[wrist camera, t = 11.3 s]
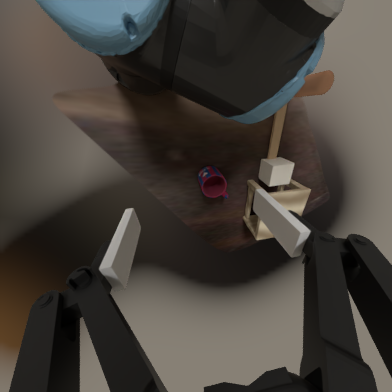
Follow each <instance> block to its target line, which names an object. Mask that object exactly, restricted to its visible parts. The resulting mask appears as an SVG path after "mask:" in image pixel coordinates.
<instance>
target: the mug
mask: <svg viewBox="0 0 392 392" xmlns="http://www.w3.org/2000/svg"><path fill="white" fill-rule="evenodd" d="M198 181H199V184H200V187H201V189H202V192H203V194H204V195H205V196H207V197H210V198H216V197H219V196H220V195H222V196H223V197H224V198H226V199H227V198H228V197H229V195H228V194H227V192H226V191H225V190H226V188H227V182H226V179H225V178H224V177H223V175H222V174H221V173H220V172H219V170H218V169H217V168H216V167H214V166H206V167H204V168H202V169H201V170H200V171H199V173H198Z"/></svg>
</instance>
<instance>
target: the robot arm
mask: <svg viewBox="0 0 392 392" xmlns="http://www.w3.org/2000/svg"><path fill="white" fill-rule="evenodd" d="M36 2H37V3H38V4H39V5H40V7H41V8H42V9H43V10H44V11H45V12H46V13H47V14H48V16H49V17H50V18H51V19H52V20H53V21H55V23H57V24H58V25H59V26H60V27H61V28H62V30H63V31H64V32H66V33H67V35H68V36H69V37H70V38H71V39H72V40H73V41H75V42H77V43H78V44H79V45H80V46H81V47H83V48H85V49H87V50H88V51H90V52H93V53H95V54H96V55H98V56H99V57H100V58H101V60H102V61H103V63H104V65H105V66H106V68H107V69H108V71H109V72H110V73H111V75H112V76H113V77H114V78H115V79H116V80H117V81H118V82H119V83H120V84H122V85H123V86H124V87H126V88H128V89H129V90H131V91H134V92H136V93H139V94H143V95H154V94H158V93H160V92H162V91H164V90H165V89H169V90H171V91H172V92H174V93H176V94H178V95H180V96H183V97H185V98H187V99H189V100H191V101H193V102H195V103H198V104H200V105H202V106H204V107H206V108H208V109H210V110H213V111H215V112H217V113H219V115H221V116H222V117H224V118H228V119H233V120H235V121H238V122H240V123H244V124H252V123H257V122H260V121H262V120H264V119H266V118H268V117H270V116H271V115H273V114H274V113H276V112H277V111H278V110H280V109H281V108H282V107H283V106H284V105H285V104H287V103H288V102H289V101H290V100H291V99H292V98H293V97H294V96H295V94H296V93H297V92H298V91H299V90H300V89H301V87H302V86H303V85H304V84H305V80H304V78H305V77H306V76H307V75H308V74H310V73H312V72H313V70H314V69H315V67H316V65H317V63H318V61H319V59H320V57H321V54H322V51H323V47H324V30H325V29H326V28H327V27H328V26H329V25H330V24H331V22H332V21H333V20H334V19H335V18H336V17H337V16H338V15H339V13H340V12H341V11H342V8H343V4H344V0H36ZM253 211H254V212H255V213H256V214H257V216H258V217H259V218H260V219H261V221H262V222H263V223H264V224H265V225H266V227H267V228H268V229H269V230H270V232H271V233H272V234H273V235H274V237H275V238H276V239H277V240H278V242H279V243H280V244H281V245H282V246H283V248H284V249H285V250H286V251H287V253H288V254H289V255H290V256H291V257H296V256H300V255H301V253H302V251H303V252H304V253H305V254H306V255H305V257H304V259H303V262H302V263H303V264H304V262H305V265H304V267H305V268H304V326H303V356H302V361H301V365H300V376H298V375H296V374H294V373H291V372H288V371H287V369H286V367H282V368H278V369H274V370H271V371H266V372H265V373H264V374H262V375H261V376H260V377H259V378H258V379H256V380H255V381H254V382H253V383H251V384H250V385H249V386H245V385H239V384H232V383H226V382H223V383H219V384H215V385H211V386H207V387H204V392H378V391H377V387H376V382H375V378H374V375H373V372H372V370H371V368H370V367H369V365H367V364H366V363H365V362H364V361H363V359H362V357H361V353H360V348H359V343H358V339H357V333H356V328H355V323H354V319H353V314H352V309H351V304H350V299H349V294H348V291H349V293H350V295H351V297H352V299H353V301H354V303H355V305H356V306H357V309H358V311H359V313H360V315H361V317H362V319H363V321H364V323H365V325H366V327H367V329H368V331H369V333H370V335H371V337H372V339H373V341H374V343H375V345H376V347H377V349H378V351H379V353H380V355H381V357H382V359H383V361H384V363H385V365H386V367H387V369H388V371H389V373H390V375H391V377H392V265H391V264H390V263H389V261H388V260H387V259H386V258H385V257H384V256H383V254H382V253H381V252H380V251H379V250H378V248H377V247H376V246H375V245H374V244H373V242H371V241H370V240H369V239H367V238H366V237H363V236H360V235H357V234H350V235H348V237H347V239H342V238H335V237H334V236H332V235H330V234H328V233H325V232H319V231H318V230H317V229H315V228H314V227H313V226H312V225H310V224H309V223H308V222H307V221H305V220H304V219H303V218H301V216H300V215H298V214H297V213H296V212H294V211H292V210H288V211H287V210H286V209H285V208H284V207H283V206H282V205H281V204H279V203H278V202H277V201H276V200H275V199H274V198H273V197H271V196H270V195H269V194H268V193H267V192H266V191H265V190H263V189H256V190H255V197H254V204H253ZM140 229H141V227H140V224H139V221H138V219H137V216H136V213H135V211H134V208H130V209H126V210H125V212H124V214H123V217H122V219H121V221H120V223H119V225H118V228H117V230H116V232H115V235H114V237H113V239H112V240H110V241H106V242H105V243H104V244H103V245H102V246H101V247H100V250H99V251H98V254H97V255H96V258H95V259H94V261H93V263H92V265H91V267H89V266H83V267H80V268H78V269H76V270H75V271H74V272H72V273H71V275H70V276H69V277H68V279H67V281H66V284H67V285H68V286H69V287H70V289H67V290H65V291H63V292H61V293H59V292H58V291H57V290H51V291H49V292H46V293H45V294H43V295H42V296H40V297H39V298H38V299H37V300H36V301H35V303H34V304H33V305H32V307H31V310H30V313H29V317H28V321H27V325H26V329H25V333H24V336H23V340H22V344H21V348H20V352H19V355H18V360H17V363H16V367H15V371H14V375H13V378H12V382H11V387H10V390H9V392H80V318H81V317H83V319H84V321H85V324H86V326H87V329H88V332H89V335H90V338H91V340H92V343H93V345H94V348H95V351H96V354H97V356H98V359H99V362H100V365H101V367H102V370H103V373H104V375H105V378H106V381H107V384H108V386H109V389H110V392H168V391H167V390H166V388H165V386H164V385H163V383H162V381H161V380H160V378H159V376H158V374H157V373H156V371H155V369H154V367H153V366H152V364H151V362H150V361H149V359H148V357H147V356H146V354H145V352H144V350H143V349H142V347H141V345H140V343H139V342H138V340H137V338H136V337H135V335H134V333H133V331H132V330H131V328H130V326H129V325H128V323H127V321H126V320H125V318H124V316H123V314H122V313H121V311H120V309H119V307H118V306H117V304H116V303H115V301H114V299H113V297H112V296H111V294H110V291H111V288H113V290H114V291H120V290H125V289H126V285H127V281H128V277H129V273H130V269H131V265H132V261H133V257H134V254H135V249H136V246H137V242H138V238H139V234H140Z"/></svg>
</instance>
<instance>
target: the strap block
mask: <svg viewBox="0 0 392 392" xmlns="http://www.w3.org/2000/svg"><path fill="white" fill-rule="evenodd" d="M304 80H305V84H304V85H303V86H302V87H301V89H300V90H299V91H298V92H297V93H296V94H295V96H294V97H302V96H312V95H322V94H325V93H326V92H327V91H328V90H329V89H330V88H331V86H332V84H333V81H334V74H333V72H332V71H330V70H328V71H324V72H319V73H315V74H311V75H307V76H306V77H305V78H304ZM287 104H288V103H287ZM287 104H285V105H284V106H283V107H282V108H281V109H280V110H278V111H277V112H276V113H275V115H274V121H273V127H272V133H271V138H270V144H269V150H268V156H267V159H261V164H260V170H259V177H258V178H259V179H260V180H261V181H263V182H264V183H265V184H266V185H268V186H269V187H270V186H277V185H284V184H289V182H290V179H291V175H292V171H293V168H294V164H295V163H293V162H291V161H288V160H286V159H284V158H282V157H277V153H278V148H279V143H280V138H281V133H282V128H283V123H284V119H285V114H286V109H287Z"/></svg>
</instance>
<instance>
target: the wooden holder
mask: <svg viewBox="0 0 392 392" xmlns="http://www.w3.org/2000/svg"><path fill="white" fill-rule="evenodd" d="M247 185H248V186H249V188H248V195H247V203H246V211H245V216H244V217H243V220H244V222H245V223H246V225H247V226H248V228H249V229H250V231H251V232H252V234H253V236H254V237H255V239H256V240H260V239H266V238H272V237H274V235H273V234H272V233H271V232H270V230H269V229H268V228H267V227H266V225H265V224H264V223H263V222H262V221H261V219H260V218H259V217H258V216H257V215H251V216H250V211H251V205H252V198H253V192H255V190H256V189H263V188H262V187H260V186H259V185H258V184H257V183H256V182H255V181H254V180H248V182H247ZM285 185H287V186H288V187H290V188H291V189H293V190H286V191H283V190H284V186H285ZM263 190H264V189H263ZM310 191H311V189H309V188H306V187H304V186H302V185H301V184H299V183H297V182H296V181H294V180H292V179H290V182H289V184H284V185H278V188H277V192H272V193H268V194H269V195H270V196H271V197H273V198H274V199H275V200H276V201H277V202H278V203H279V204H281V205H282V206H283V207H284V208H285V209H286V210H287V211H288V210H292V211H294V212H296V213H297V214H298V215H300V216H301V215H302V212H303V210H304V207H305V204H306V202H307V199H308V196H309V194H310Z"/></svg>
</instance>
